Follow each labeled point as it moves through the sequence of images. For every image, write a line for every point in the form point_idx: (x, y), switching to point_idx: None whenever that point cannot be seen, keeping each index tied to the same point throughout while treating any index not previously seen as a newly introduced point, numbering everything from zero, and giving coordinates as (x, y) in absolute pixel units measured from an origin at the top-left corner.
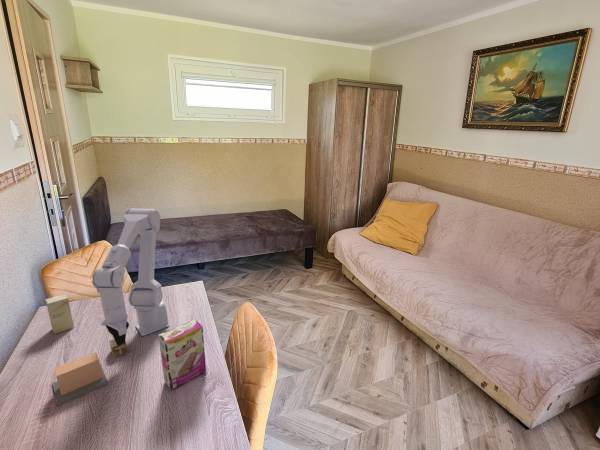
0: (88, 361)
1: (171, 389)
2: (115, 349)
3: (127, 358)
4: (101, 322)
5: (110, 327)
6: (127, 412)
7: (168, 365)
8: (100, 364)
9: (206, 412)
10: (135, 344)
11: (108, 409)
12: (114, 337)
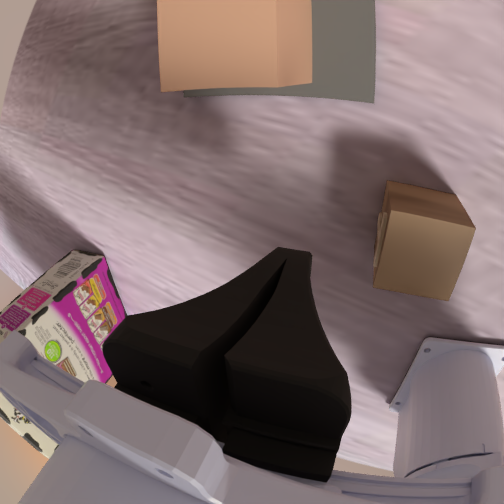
0: (181, 21)
1: (70, 252)
2: (383, 214)
3: (322, 224)
4: (118, 447)
5: (170, 382)
6: (49, 134)
7: (9, 304)
8: (364, 100)
9: (24, 262)
10: (401, 294)
11: (74, 85)
12: (211, 292)
